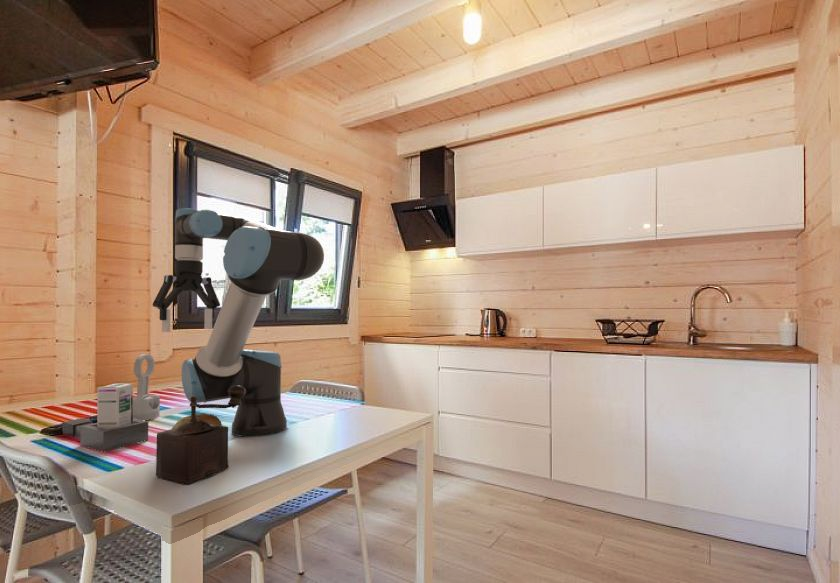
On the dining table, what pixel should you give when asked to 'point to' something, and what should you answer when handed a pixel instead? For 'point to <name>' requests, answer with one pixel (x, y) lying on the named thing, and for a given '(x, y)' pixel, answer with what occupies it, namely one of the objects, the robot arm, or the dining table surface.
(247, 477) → the dining table surface
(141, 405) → the engine component
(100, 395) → the syrup box
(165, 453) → the coffee grinder
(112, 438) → the grey storage bin
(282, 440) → the dining table surface
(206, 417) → the bread roll
